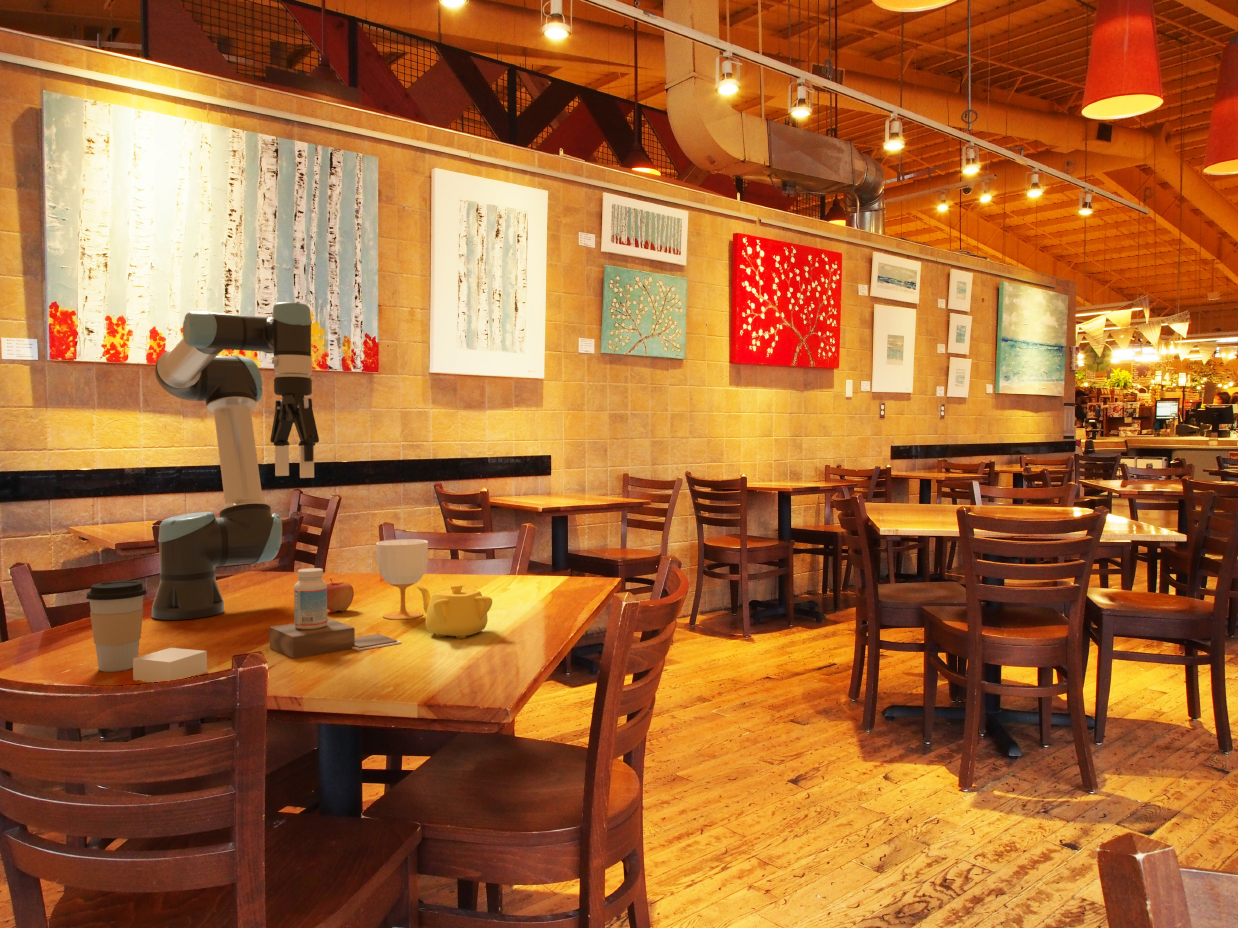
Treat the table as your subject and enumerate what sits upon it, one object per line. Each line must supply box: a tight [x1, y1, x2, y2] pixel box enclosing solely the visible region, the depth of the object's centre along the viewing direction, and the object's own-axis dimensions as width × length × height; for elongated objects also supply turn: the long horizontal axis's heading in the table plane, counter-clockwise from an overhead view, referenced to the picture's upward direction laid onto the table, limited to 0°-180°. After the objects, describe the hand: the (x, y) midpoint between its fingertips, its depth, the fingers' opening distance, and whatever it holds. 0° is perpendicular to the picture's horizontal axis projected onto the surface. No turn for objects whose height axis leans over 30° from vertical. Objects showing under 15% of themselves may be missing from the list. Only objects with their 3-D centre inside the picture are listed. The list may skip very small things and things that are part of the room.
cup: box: [375, 538, 429, 621], centre depth 201 cm, size 12×12×17 cm
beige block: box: [132, 647, 208, 683], centre depth 150 cm, size 8×8×4 cm
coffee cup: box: [85, 580, 148, 673], centre depth 156 cm, size 9×9×15 cm
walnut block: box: [269, 617, 356, 659], centre depth 171 cm, size 12×12×4 cm
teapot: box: [415, 584, 493, 639], centre depth 182 cm, size 14×13×10 cm
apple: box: [326, 578, 355, 614], centre depth 206 cm, size 7×7×8 cm
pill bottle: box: [293, 567, 328, 630], centre depth 171 cm, size 6×6×11 cm
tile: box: [352, 633, 402, 652], centre depth 174 cm, size 9×9×1 cm
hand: (294, 476), depth 186 cm, fingers open, 13 cm apart
